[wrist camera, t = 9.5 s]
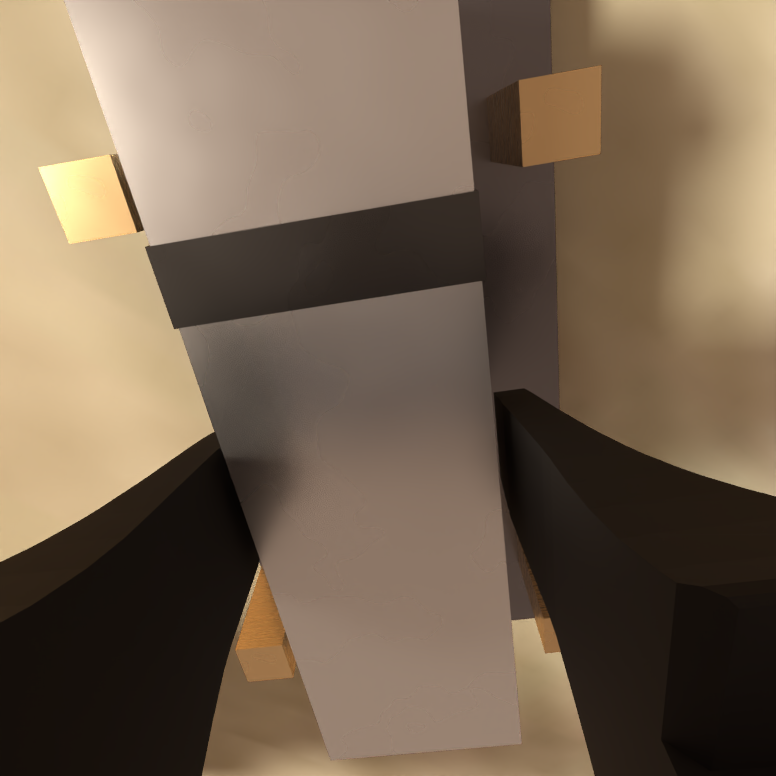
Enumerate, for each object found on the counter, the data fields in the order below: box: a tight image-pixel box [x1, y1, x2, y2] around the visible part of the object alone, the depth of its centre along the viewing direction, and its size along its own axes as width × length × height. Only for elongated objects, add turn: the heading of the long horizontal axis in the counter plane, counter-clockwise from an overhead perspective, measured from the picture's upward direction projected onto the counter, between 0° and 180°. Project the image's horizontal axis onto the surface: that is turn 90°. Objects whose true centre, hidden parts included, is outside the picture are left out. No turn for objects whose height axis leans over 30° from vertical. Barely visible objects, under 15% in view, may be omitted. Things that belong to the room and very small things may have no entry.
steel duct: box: [64, 0, 522, 760], centre depth 11 cm, size 15×5×5 cm, turn 9°
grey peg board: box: [39, 0, 601, 682], centre depth 12 cm, size 17×9×4 cm, turn 9°
